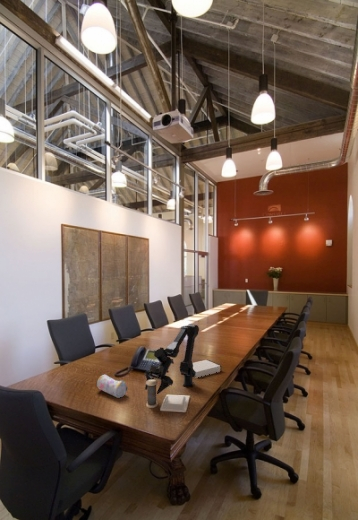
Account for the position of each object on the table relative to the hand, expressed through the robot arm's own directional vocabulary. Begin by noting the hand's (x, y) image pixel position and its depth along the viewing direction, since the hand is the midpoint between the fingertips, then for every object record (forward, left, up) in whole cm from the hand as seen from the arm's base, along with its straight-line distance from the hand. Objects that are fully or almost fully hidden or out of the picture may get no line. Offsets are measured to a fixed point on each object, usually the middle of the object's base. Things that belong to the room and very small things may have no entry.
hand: (151, 391), depth 154 cm
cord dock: (-3, +13, -8) cm, 16 cm away
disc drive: (-56, +25, -8) cm, 62 cm away
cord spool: (0, 0, -8) cm, 8 cm away
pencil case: (-12, -29, -8) cm, 32 cm away
